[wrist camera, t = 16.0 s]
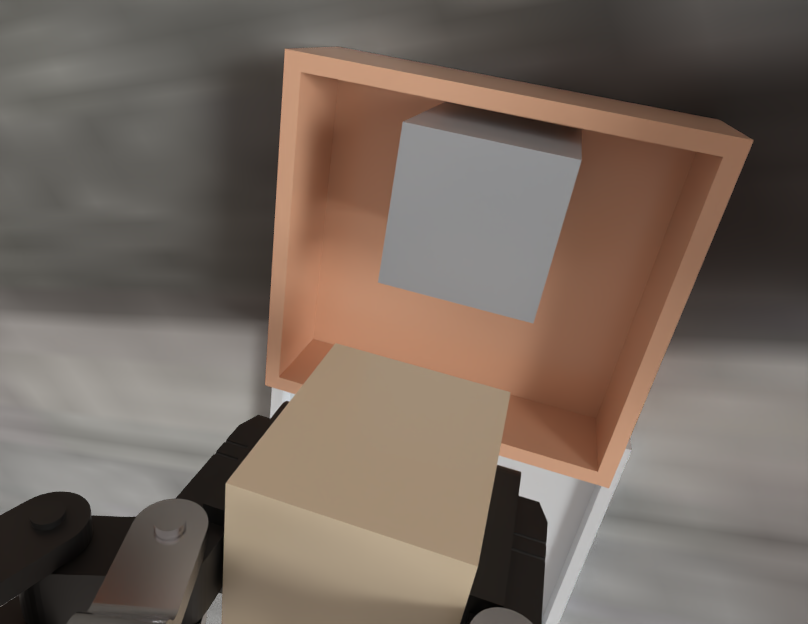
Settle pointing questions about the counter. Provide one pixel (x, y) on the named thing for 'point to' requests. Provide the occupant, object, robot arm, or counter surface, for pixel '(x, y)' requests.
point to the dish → (570, 268)
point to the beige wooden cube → (364, 498)
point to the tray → (552, 519)
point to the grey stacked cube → (478, 207)
